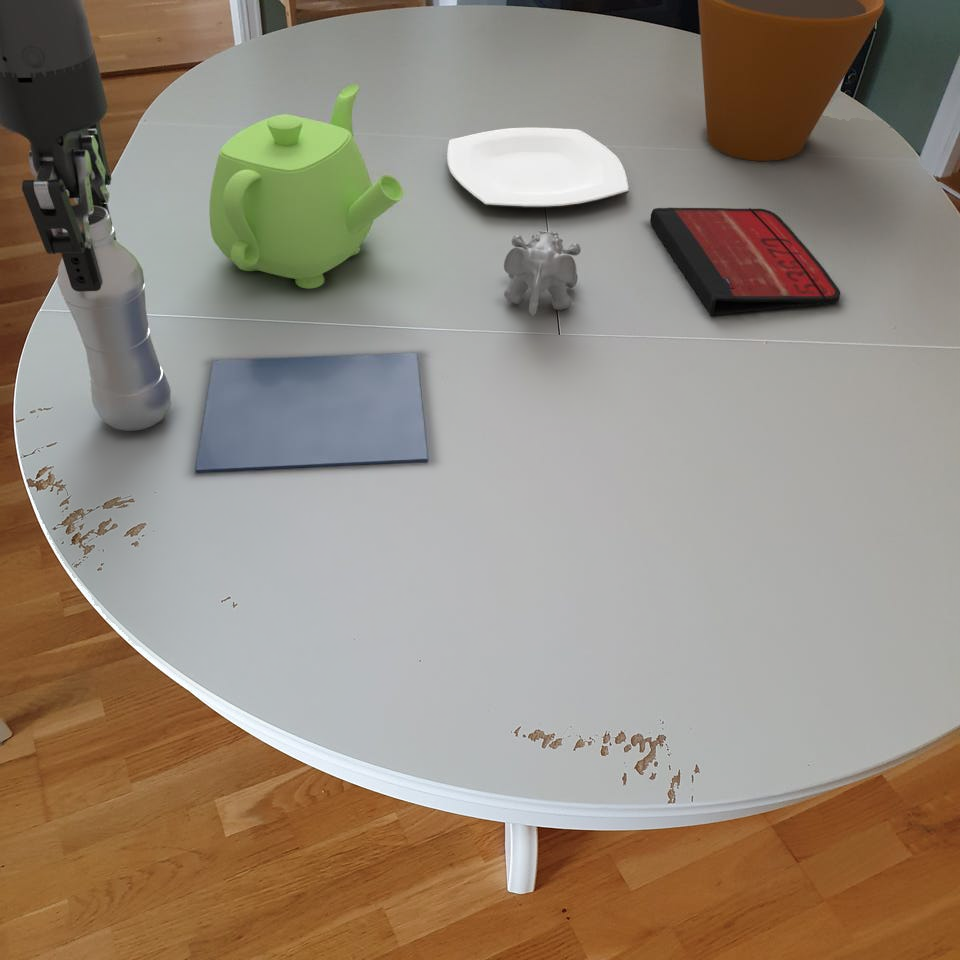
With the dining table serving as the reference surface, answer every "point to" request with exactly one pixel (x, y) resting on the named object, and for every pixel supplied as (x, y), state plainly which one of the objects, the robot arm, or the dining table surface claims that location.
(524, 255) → the gray elephant figurine
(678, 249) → the notebook
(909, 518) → the dining table surface
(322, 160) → the teapot
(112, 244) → the silver metal bottle
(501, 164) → the plate
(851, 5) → the flower pot
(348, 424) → the flat rectangular board
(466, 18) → the dining table surface
